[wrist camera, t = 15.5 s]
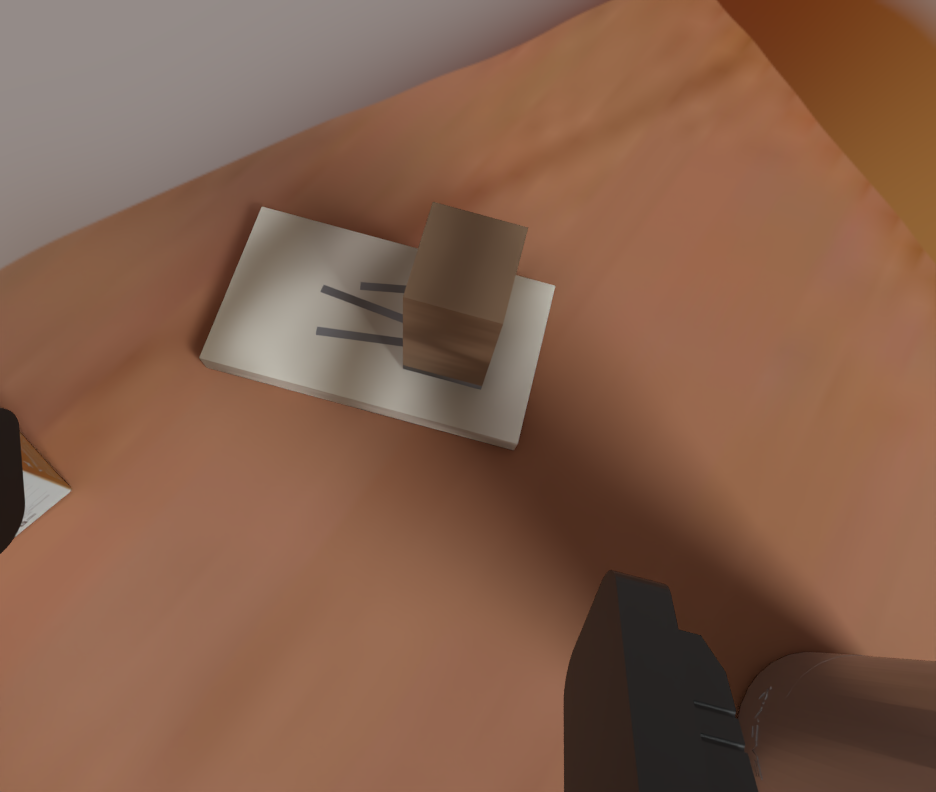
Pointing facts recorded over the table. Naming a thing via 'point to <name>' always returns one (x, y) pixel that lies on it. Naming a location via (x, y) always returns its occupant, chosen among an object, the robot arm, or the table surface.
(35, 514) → the small box
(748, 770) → the robot arm
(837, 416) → the table surface
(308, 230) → the board
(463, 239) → the block
